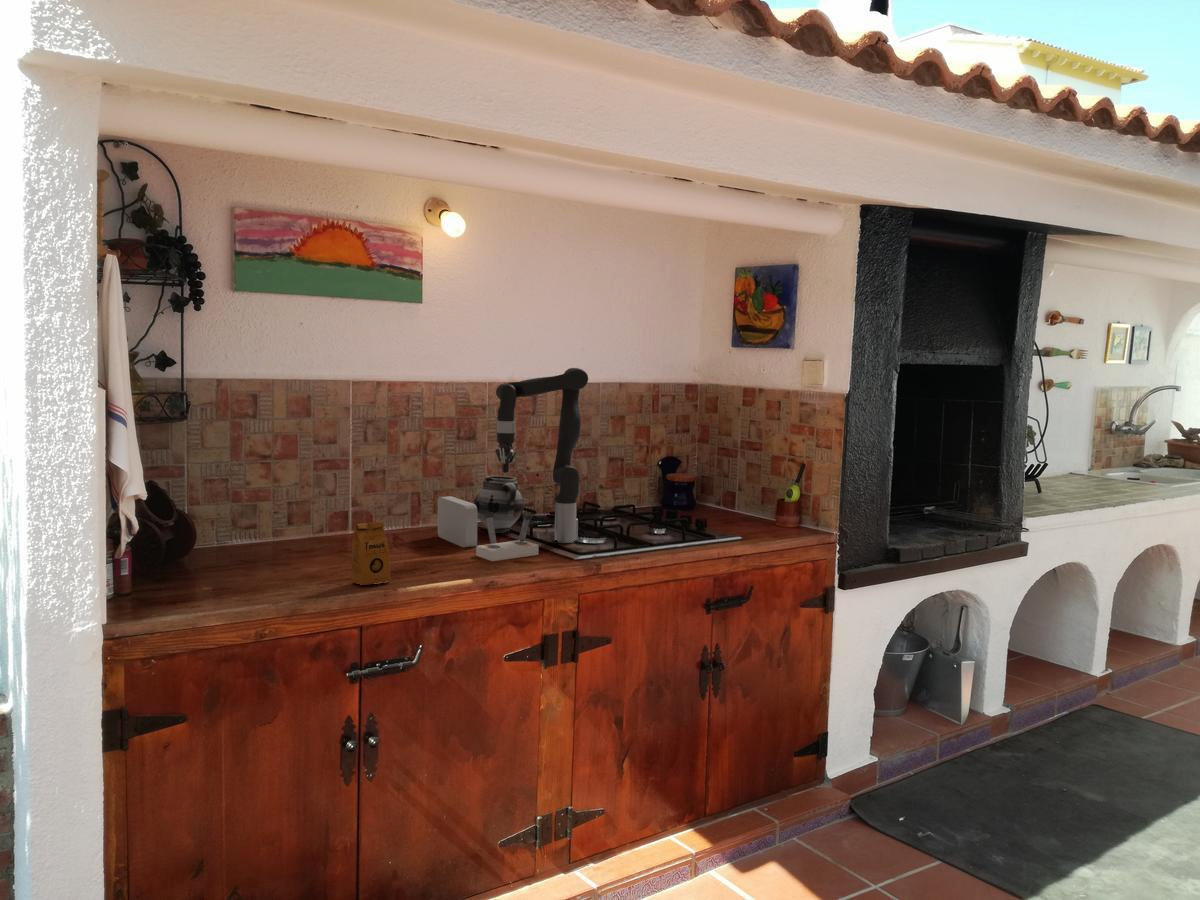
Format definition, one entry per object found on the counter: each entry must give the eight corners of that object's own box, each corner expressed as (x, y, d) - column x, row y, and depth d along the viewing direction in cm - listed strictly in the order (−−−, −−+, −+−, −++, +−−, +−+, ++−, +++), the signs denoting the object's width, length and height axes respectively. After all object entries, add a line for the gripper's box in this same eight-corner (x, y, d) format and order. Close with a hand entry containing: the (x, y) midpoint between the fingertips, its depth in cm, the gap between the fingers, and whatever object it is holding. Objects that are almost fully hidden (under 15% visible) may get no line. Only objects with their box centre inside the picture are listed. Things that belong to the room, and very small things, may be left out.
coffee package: (393, 584, 339) (393, 523, 336) (358, 589, 332) (358, 526, 330) (383, 578, 347) (382, 518, 345) (349, 582, 340) (348, 521, 338)
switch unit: (522, 549, 401) (522, 538, 401) (538, 554, 392) (538, 543, 391) (476, 555, 388) (476, 544, 387) (492, 561, 378) (492, 550, 378)
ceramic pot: (461, 527, 445) (462, 474, 442) (505, 523, 458) (505, 471, 455) (491, 538, 421) (492, 482, 419) (536, 533, 434) (537, 479, 432)
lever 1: (495, 543, 387) (489, 513, 389) (498, 542, 385) (493, 511, 387) (488, 544, 385) (483, 513, 387) (492, 543, 383) (486, 512, 385)
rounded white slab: (482, 546, 405) (482, 504, 403) (465, 548, 400) (465, 505, 398) (453, 535, 428) (453, 494, 426) (437, 536, 424) (437, 496, 422)
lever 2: (522, 538, 395) (529, 512, 390) (526, 541, 393) (533, 515, 388) (516, 538, 393) (523, 512, 388) (519, 542, 391) (526, 516, 386)
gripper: (521, 432, 402) (521, 473, 404) (504, 429, 412) (504, 470, 414) (506, 433, 397) (506, 474, 399) (489, 430, 407) (489, 471, 409)
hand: (505, 472), depth 406 cm, fingers closed
